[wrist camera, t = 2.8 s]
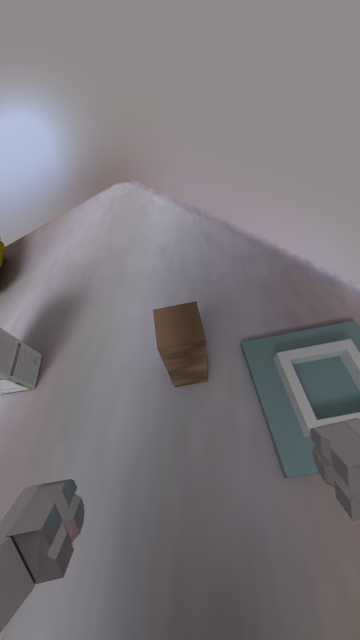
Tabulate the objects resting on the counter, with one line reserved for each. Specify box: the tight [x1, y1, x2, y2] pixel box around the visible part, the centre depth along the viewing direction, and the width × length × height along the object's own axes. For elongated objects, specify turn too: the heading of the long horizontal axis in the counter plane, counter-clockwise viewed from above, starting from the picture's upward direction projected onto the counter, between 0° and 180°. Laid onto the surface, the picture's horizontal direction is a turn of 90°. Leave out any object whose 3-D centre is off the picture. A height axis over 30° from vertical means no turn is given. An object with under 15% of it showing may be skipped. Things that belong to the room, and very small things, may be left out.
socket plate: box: [241, 321, 360, 478], centre depth 28 cm, size 16×16×3 cm
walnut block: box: [153, 302, 208, 387], centre depth 28 cm, size 4×4×12 cm
